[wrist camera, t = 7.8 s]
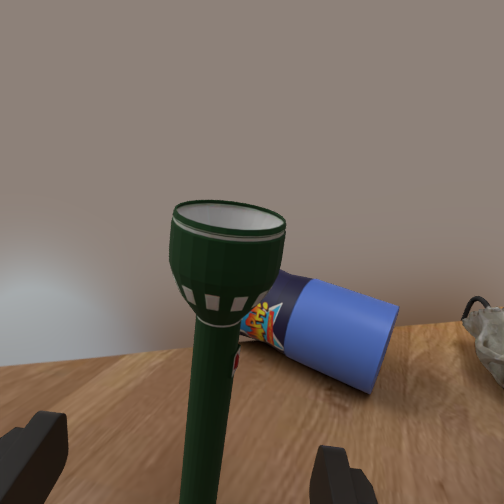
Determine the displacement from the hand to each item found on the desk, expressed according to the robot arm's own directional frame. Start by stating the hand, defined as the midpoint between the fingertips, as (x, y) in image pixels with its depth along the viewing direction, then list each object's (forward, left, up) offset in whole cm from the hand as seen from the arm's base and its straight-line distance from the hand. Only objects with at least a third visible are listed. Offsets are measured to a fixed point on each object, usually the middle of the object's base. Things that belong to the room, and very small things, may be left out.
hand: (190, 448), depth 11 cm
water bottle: (-21, +17, -10) cm, 29 cm away
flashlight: (-7, 0, -14) cm, 16 cm away
